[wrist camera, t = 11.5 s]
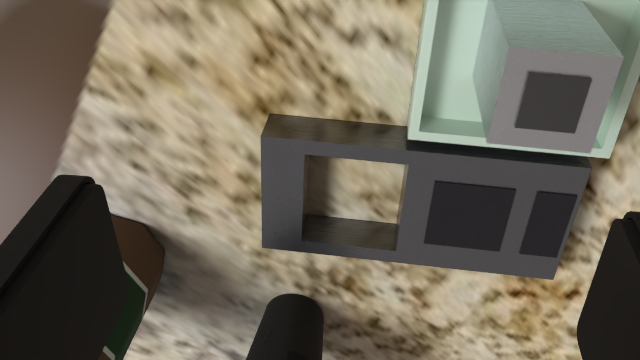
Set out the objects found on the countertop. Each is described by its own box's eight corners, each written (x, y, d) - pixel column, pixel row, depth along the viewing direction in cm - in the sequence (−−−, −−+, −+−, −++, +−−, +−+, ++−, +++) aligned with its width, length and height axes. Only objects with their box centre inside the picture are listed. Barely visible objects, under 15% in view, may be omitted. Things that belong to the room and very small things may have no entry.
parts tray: (435, -79, 33) (437, -69, 31) (667, -62, 32) (685, -51, 30) (407, 119, 40) (407, 139, 37) (598, 137, 39) (609, 158, 37)
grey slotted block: (269, 113, 40) (260, 137, 38) (580, 143, 39) (592, 169, 36) (270, 221, 45) (261, 248, 43) (544, 251, 44) (553, 280, 41)
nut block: (489, -7, 34) (509, 48, 27) (581, 0, 34) (625, 58, 27) (472, 76, 37) (487, 145, 30) (557, 83, 36) (591, 155, 30)
